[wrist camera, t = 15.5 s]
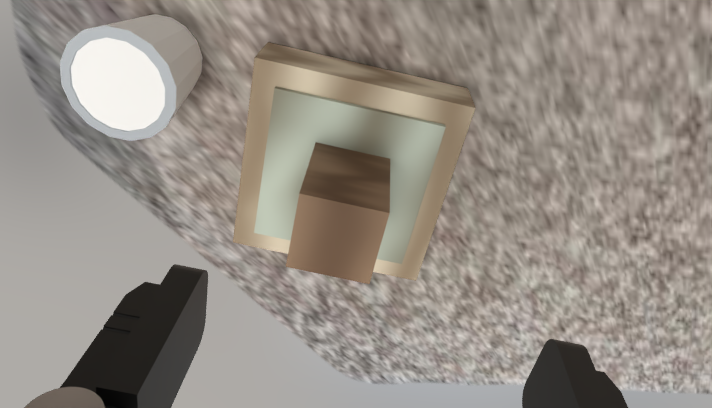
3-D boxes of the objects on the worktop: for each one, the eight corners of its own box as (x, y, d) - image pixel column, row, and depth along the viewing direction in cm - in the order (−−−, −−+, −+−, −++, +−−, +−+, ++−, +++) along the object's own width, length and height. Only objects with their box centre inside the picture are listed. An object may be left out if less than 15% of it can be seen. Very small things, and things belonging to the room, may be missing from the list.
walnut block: (390, 158, 35) (389, 213, 29) (373, 221, 38) (369, 284, 31) (315, 142, 35) (299, 193, 29) (303, 206, 37) (285, 266, 31)
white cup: (178, -13, 35) (133, 6, 29) (229, 83, 38) (198, 119, 32) (93, 27, 36) (33, 53, 30) (148, 116, 39) (104, 156, 33)
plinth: (467, 88, 37) (476, 110, 33) (414, 250, 44) (416, 284, 40) (268, 42, 36) (253, 59, 32) (245, 214, 43) (231, 245, 39)
